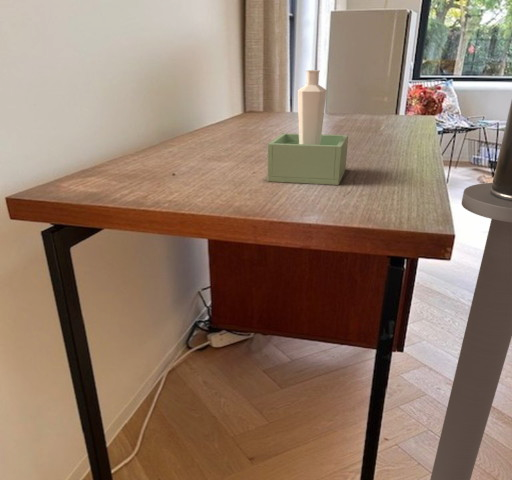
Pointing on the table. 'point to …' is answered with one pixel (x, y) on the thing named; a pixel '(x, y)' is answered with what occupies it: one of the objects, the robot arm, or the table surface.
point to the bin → (307, 160)
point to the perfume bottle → (311, 109)
